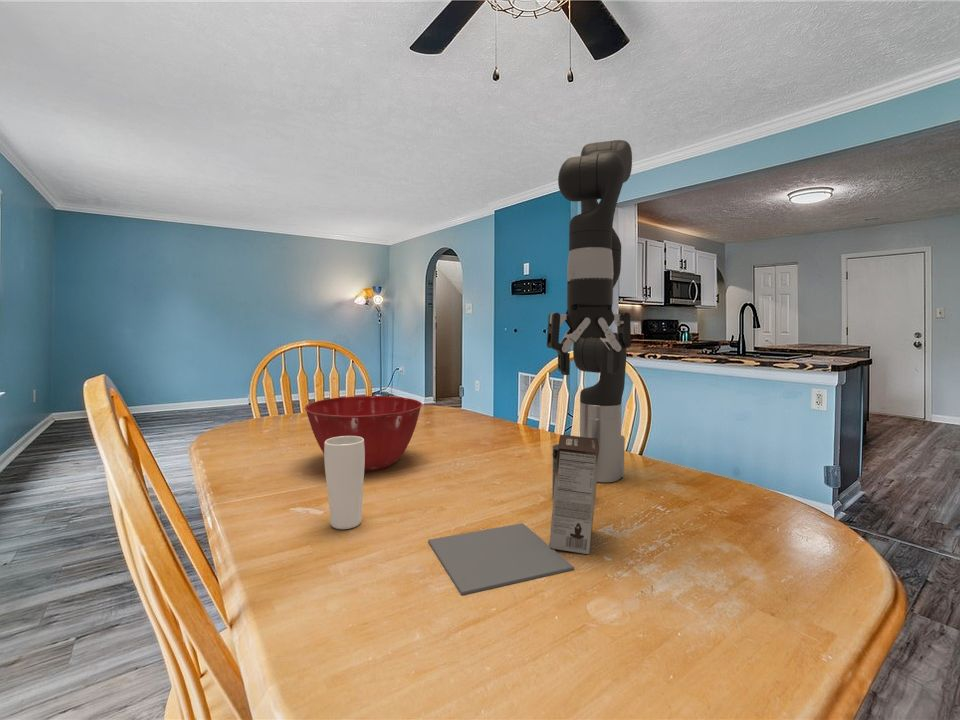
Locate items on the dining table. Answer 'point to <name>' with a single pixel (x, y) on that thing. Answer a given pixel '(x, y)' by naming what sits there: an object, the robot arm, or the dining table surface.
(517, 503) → the dining table surface
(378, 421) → the mixing bowl
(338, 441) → the drinking glass
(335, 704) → the dining table surface
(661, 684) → the dining table surface
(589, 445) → the coffee box
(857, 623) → the dining table surface
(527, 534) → the slate mat
